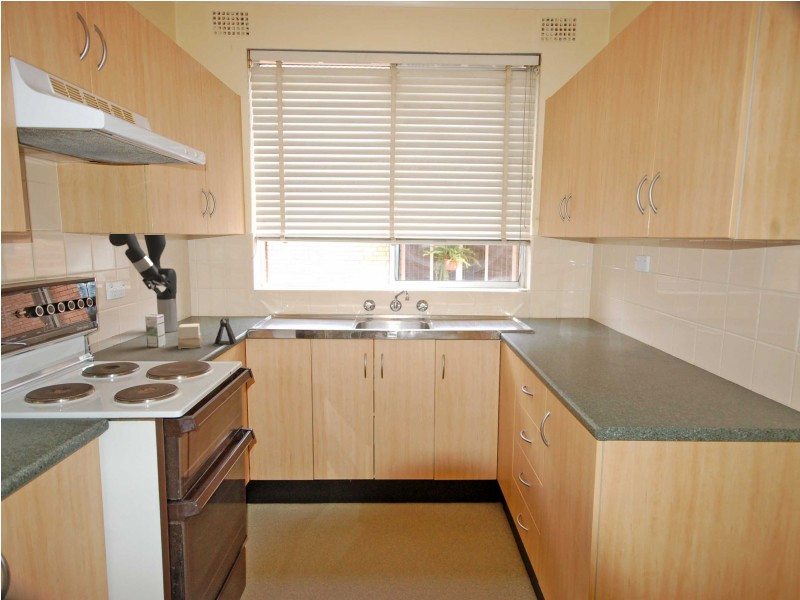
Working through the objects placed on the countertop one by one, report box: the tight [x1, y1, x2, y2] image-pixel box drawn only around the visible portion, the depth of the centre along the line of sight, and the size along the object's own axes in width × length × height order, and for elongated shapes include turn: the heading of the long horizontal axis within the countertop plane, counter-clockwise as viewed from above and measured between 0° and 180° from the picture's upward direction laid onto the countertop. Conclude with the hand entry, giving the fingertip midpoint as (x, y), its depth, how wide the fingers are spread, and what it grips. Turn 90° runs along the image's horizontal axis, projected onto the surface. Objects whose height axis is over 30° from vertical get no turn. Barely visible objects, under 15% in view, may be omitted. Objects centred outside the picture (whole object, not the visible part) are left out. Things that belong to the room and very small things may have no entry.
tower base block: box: [177, 333, 203, 350], centre depth 220 cm, size 9×9×5 cm
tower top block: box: [178, 323, 201, 338], centre depth 220 cm, size 8×8×5 cm
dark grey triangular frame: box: [214, 316, 237, 345], centre depth 227 cm, size 9×6×12 cm, turn 99°
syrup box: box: [144, 313, 166, 348], centre depth 220 cm, size 6×6×14 cm
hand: (166, 293), depth 232 cm, fingers open, 8 cm apart
